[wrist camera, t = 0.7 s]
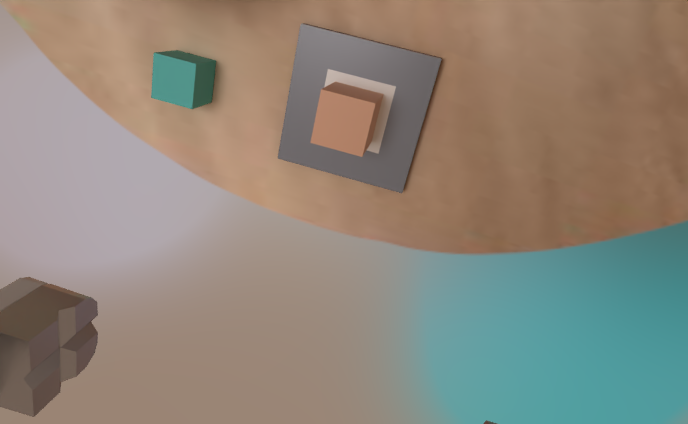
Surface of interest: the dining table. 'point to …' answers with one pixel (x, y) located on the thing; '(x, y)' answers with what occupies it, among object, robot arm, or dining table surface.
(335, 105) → the terracotta block
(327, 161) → the baseplate
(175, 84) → the teal block
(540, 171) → the dining table surface
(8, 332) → the robot arm
